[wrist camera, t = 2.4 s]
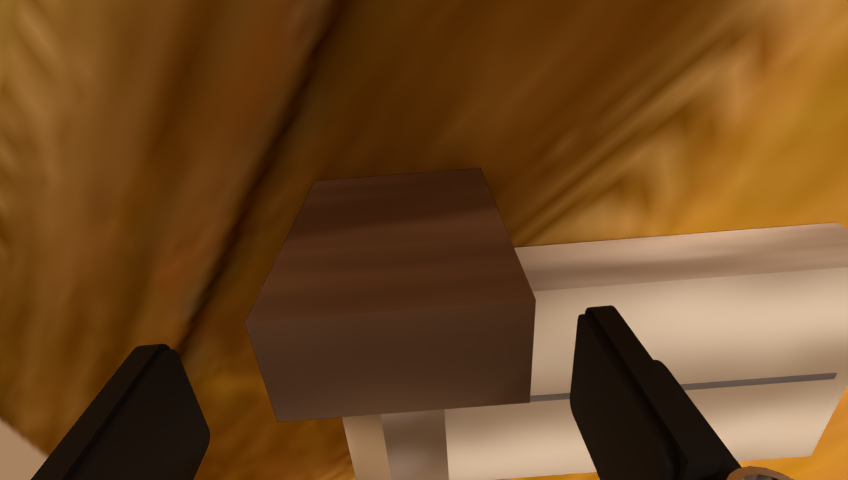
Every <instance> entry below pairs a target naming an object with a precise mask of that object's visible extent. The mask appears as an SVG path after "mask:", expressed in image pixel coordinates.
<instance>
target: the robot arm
mask: <svg viewBox="0 0 848 480" xmlns="http://www.w3.org/2000/svg"><path fill="white" fill-rule="evenodd" d="M570 407H571V411H572V414H573V417H574V419H575V421H576V424H577V426H578V429H579V431H580V433H581V436H582V438H583V440H584V443H585V445H586V447H587V450H588V452H589V454H590V457H591V459H592V461H593V464H594V466H595V469H596V471H597V473H598V476H599V478H600V480H793V479H792V478H790V477H788V476H786V475H784V474H782V473H779V472H776V471H773V470H770V469H767V468H762V467H752V466H749V467H743V468H742V467H741V466H740V465H739V463H738V462H737V461H736V459H735V458H734V457H733V455H732V454H731V452H730V451H729V450H728V448H727V447H726V446H725V444H724V443H723V442H722V440H721V439H720V438H719V436H718V435H717V434H716V432H715V431H714V430H713V428H712V427H711V426H710V424H709V423H708V422H707V420H706V419H705V418H704V416H703V415H702V414H701V412H700V411H699V410H698V408H697V407H696V406H695V404H694V403H693V402H692V400H691V399H690V398H689V396H688V395H687V394H686V392H685V391H684V389H683V388H682V387H681V385H680V384H679V383H678V381H677V380H676V379H675V377H674V376H673V375H672V373H671V372H670V371H669V369H668V368H667V367H666V366H665V365H664V364H663V363H662V362H661V361H659V360H653V359H652V357H651V356H650V355H649V353H648V352H647V351H646V349H645V348H644V346H643V345H642V344H641V342H640V341H639V339H638V338H637V337H636V335H635V334H634V333H633V331H632V330H631V328H630V327H629V326H628V324H627V323H626V321H625V320H624V319H623V317H622V316H621V315H620V313H619V312H618V310H617V309H616V308H615V307H614V306H612V305H609V306H597V307H588V308H587V309H586V311H585V314H580V315H579V316H578V320H577V330H576V340H575V350H574V360H573V369H572V379H571V389H570ZM209 440H210V432H209V428H208V426H207V423H206V421H205V419H204V416H203V414H202V411H201V409H200V406H199V404H198V402H197V399H196V397H195V394H194V392H193V389H192V387H191V385H190V382H189V380H188V377H187V375H186V372H185V370H184V367H183V365H182V363H181V360H180V358H179V355H178V353H177V352H176V351H175V350H171V349H170V348H169V346H167V345H166V344H157V345H145V346H138V347H136V348H135V349H134V350H133V351H132V352H131V353H130V355H129V356H128V357H127V358H126V360H125V361H124V362H123V364H122V365H121V366H120V367H119V369H118V370H117V371H116V372H115V374H114V375H113V376H112V377H111V379H110V380H109V381H108V383H107V384H106V385H105V386H104V388H103V389H102V390H101V391H100V393H99V394H98V395H97V396H96V398H95V399H94V400H93V402H92V403H91V404H90V405H89V407H88V408H87V409H86V410H85V412H84V413H83V414H82V415H81V417H80V418H79V419H78V421H77V422H76V423H75V424H74V426H73V427H72V428H71V429H70V431H69V432H68V433H67V434H66V436H65V437H64V438H63V440H62V441H61V442H60V443H59V445H58V446H57V447H56V448H55V450H54V451H53V452H52V453H51V455H50V456H49V457H48V459H47V460H46V461H45V462H44V464H43V465H42V466H41V468H40V469H39V470H38V471H37V473H36V474H35V475H34V477H33V478H32V479H31V480H193V479H194V477H195V475H196V472H197V470H198V468H199V466H200V463H201V461H202V459H203V457H204V454H205V452H206V450H207V448H208V445H209Z"/></svg>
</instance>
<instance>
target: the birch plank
mask: <svg viewBox="0 0 848 480" xmlns="http://www.w3.org/2000/svg"><path fill="white" fill-rule="evenodd" d="M514 249H515V251H516V254H517V256H518V258H519V261H520V263H521V266H522V268H523V270H524V273H525V275H526V277H527V280H528V282H529V285H530V287H531V289H532V292H533V294H534V296H535V299H536V308H535V325H534V342H533V359H532V376H531V393H530V403H521V404H508V405H495V406H482V407H469V408H456V409H444V415H445V429H446V443H447V457H448V471H449V480H495V479H508V478H521V477H535V476H548V475H561V474H575V473H588V472H597V471H596V469H595V466H594V464H593V461H592V459H591V457H590V454H589V452H588V450H587V447H586V445H585V443H584V440H583V438H582V436H581V433H580V431H579V429H578V426H577V424H576V421H575V419H574V417H573V414H572V411H571V407H570V389H571V379H572V369H573V360H574V350H575V340H576V330H577V320H578V316H579V315H580V314H585V311H586V309H587V308H588V307H597V306H609V305H612V306H614V307H615V308H616V309H617V310H618V312H619V313H620V315H621V316H622V317H623V319H624V320H625V321H626V323H627V324H628V326H629V327H630V328H631V330H632V331H633V333H634V334H635V335H636V337H637V338H638V339H639V341H640V342H641V344H642V345H643V346H644V348H645V349H646V351H647V352H648V353H649V355H650V356H651V357H652V359H653V360H659V361H661V362H662V363H663V364H664V365H665V366H666V367H667V368H668V369H669V371H670V372H671V373H672V375H673V376H674V377H675V379H676V380H677V381H678V383H679V384H680V385H681V387H682V388H683V389H684V391H685V392H686V394H687V395H688V396H689V398H690V399H691V400H692V402H693V403H694V404H695V406H696V407H697V408H698V410H699V411H700V412H701V414H702V415H703V416H704V418H705V419H706V420H707V422H708V423H709V424H710V426H711V427H712V428H713V430H714V431H715V432H716V434H717V435H718V436H719V438H720V439H721V440H722V442H723V443H724V444H725V446H726V447H727V448H728V450H729V451H730V452H731V454H732V455H733V457H734V458H735V459H736V461H748V460H762V459H775V458H788V457H802V456H811V454H812V452H813V450H814V448H815V446H816V445H817V443H818V441H819V439H820V437H821V435H822V433H823V431H824V429H825V427H826V425H827V423H828V421H829V419H830V418H831V416H832V414H833V412H834V410H835V408H836V406H837V404H838V402H839V400H840V398H841V396H842V394H843V393H844V391H845V389H846V387H847V385H848V229H847V228H846V227H844V226H842V225H840V224H838V223H826V224H813V225H800V226H788V227H775V228H762V229H749V230H736V231H723V232H710V233H697V234H685V235H672V236H659V237H646V238H633V239H620V240H607V241H594V242H582V243H569V244H556V245H543V246H530V247H517V248H514ZM342 420H343V425H344V429H345V434H346V438H347V442H348V447H349V451H350V455H351V460H352V464H353V469H354V473H355V477H356V480H391V474H390V468H389V462H388V456H387V450H386V444H385V439H384V433H383V427H382V421H381V415H380V414H378V415H364V416H351V417H342Z"/></svg>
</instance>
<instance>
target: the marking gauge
mask: <svg viewBox="0 0 848 480" xmlns="http://www.w3.org/2000/svg"><path fill="white" fill-rule="evenodd" d="M535 308H536V299H535V296H534V294H533V292H532V289H531V287H530V285H529V282H528V280H527V277H526V275H525V273H524V270H523V268H522V266H521V263H520V261H519V258H518V256H517V254H516V251H515V249H514V247H513V244H512V242H511V240H510V237H509V235H508V232H507V230H506V228H505V225H504V223H503V221H502V218H501V216H500V213H499V211H498V209H497V206H496V204H495V202H494V199H493V197H492V194H491V192H490V190H489V187H488V185H487V183H486V180H485V178H484V176H483V173H482V171H481V168H473V169H460V170H448V171H435V172H422V173H410V174H397V175H384V176H372V177H359V178H346V179H334V180H321V181H314V183H313V185H312V187H311V189H310V191H309V193H308V195H307V197H306V199H305V201H304V203H303V205H302V207H301V209H300V211H299V213H298V215H297V217H296V219H295V221H294V223H293V225H292V227H291V229H290V231H289V233H288V235H287V237H286V239H285V241H284V243H283V245H282V248H281V250H280V252H279V254H278V256H277V258H276V260H275V262H274V264H273V266H272V268H271V270H270V272H269V274H268V276H267V278H266V280H265V282H264V284H263V286H262V288H261V290H260V292H259V294H258V296H257V298H256V300H255V302H254V304H253V306H252V308H251V310H250V312H249V314H248V316H247V318H246V320H245V322H244V323H245V326H246V329H247V332H248V335H249V338H250V341H251V344H252V347H253V350H254V353H255V356H256V359H257V362H258V365H259V368H260V371H261V374H262V377H263V380H264V383H265V386H266V389H267V392H268V395H269V398H270V401H271V404H272V407H273V410H274V413H275V416H276V419H277V422H286V421H299V420H312V419H325V418H338V417H351V416H364V415H378V414H380V415H381V421H382V427H383V433H384V439H385V444H386V450H387V456H388V462H389V468H390V474H391V480H449V471H448V457H447V443H446V429H445V415H444V409H456V408H469V407H482V406H495V405H508V404H521V403H530V393H531V376H532V359H533V342H534V325H535Z"/></svg>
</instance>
